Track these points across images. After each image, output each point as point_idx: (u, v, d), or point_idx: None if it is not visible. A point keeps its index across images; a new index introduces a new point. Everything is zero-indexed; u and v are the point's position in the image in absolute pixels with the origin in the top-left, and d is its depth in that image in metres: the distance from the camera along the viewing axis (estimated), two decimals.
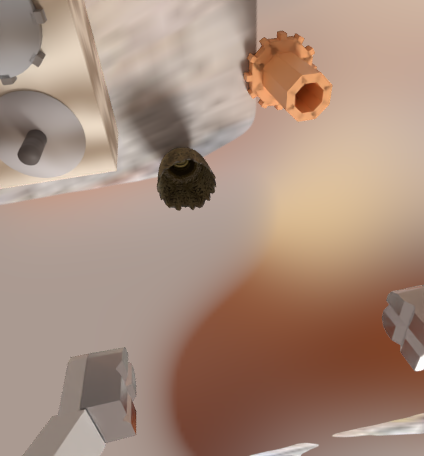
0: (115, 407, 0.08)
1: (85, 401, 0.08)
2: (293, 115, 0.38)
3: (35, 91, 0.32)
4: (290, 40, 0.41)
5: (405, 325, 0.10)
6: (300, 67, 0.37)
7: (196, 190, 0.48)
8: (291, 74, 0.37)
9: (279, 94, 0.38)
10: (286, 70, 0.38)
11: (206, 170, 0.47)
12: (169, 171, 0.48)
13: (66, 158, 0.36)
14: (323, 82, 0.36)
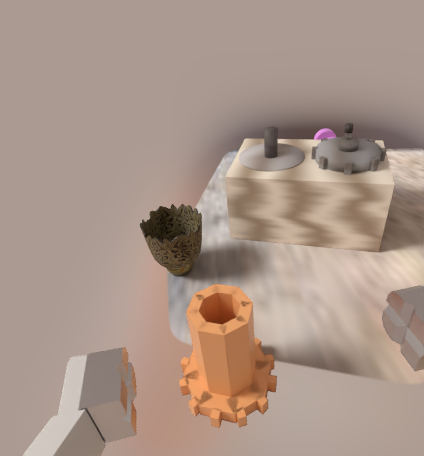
0: (115, 407, 0.08)
1: (85, 401, 0.08)
2: (205, 290, 0.29)
3: (300, 162, 0.46)
4: (265, 386, 0.31)
5: (405, 325, 0.10)
6: (251, 329, 0.28)
7: None
8: None
9: None
10: None
11: None
12: None
13: (250, 161, 0.48)
14: (233, 324, 0.26)
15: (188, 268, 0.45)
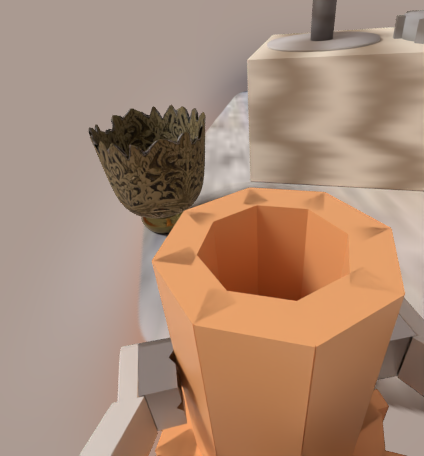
0: (172, 395, 0.09)
1: (143, 388, 0.08)
2: (218, 202, 0.09)
3: (377, 42, 0.27)
4: None
5: None
6: None
7: None
8: None
9: None
10: None
11: None
12: None
13: (287, 44, 0.28)
14: (343, 302, 0.06)
15: None
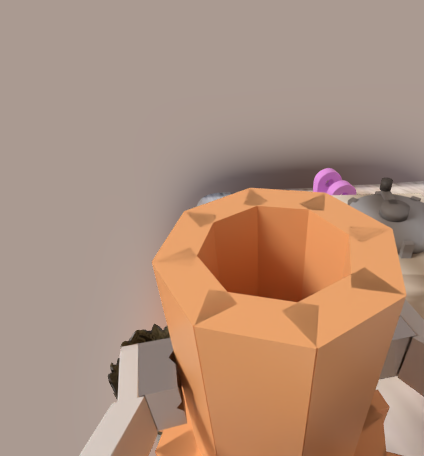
0: (172, 394, 0.09)
1: (143, 388, 0.08)
2: (218, 202, 0.09)
3: None
4: None
5: None
6: None
7: None
8: None
9: None
10: None
11: None
12: None
13: None
14: (344, 303, 0.06)
15: None
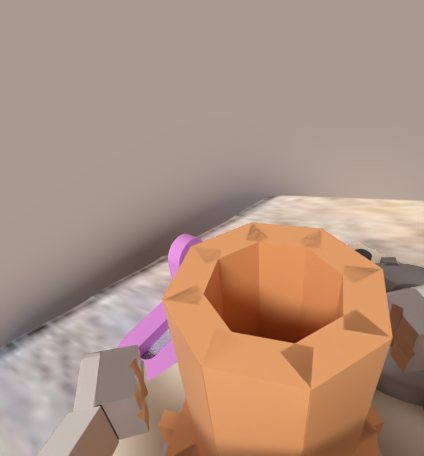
0: (130, 404, 0.08)
1: (100, 398, 0.08)
2: (222, 237, 0.10)
3: None
4: None
5: (394, 328, 0.10)
6: None
7: None
8: None
9: None
10: None
11: None
12: None
13: None
14: (336, 345, 0.07)
15: None
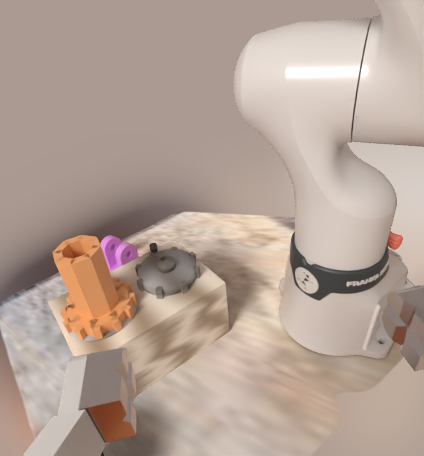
0: (115, 407, 0.08)
1: (85, 401, 0.08)
2: (72, 239, 0.40)
3: None
4: (121, 312, 0.41)
5: (405, 325, 0.10)
6: (102, 266, 0.39)
7: None
8: None
9: None
10: None
11: None
12: None
13: None
14: (80, 258, 0.37)
15: None
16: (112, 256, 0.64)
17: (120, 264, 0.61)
